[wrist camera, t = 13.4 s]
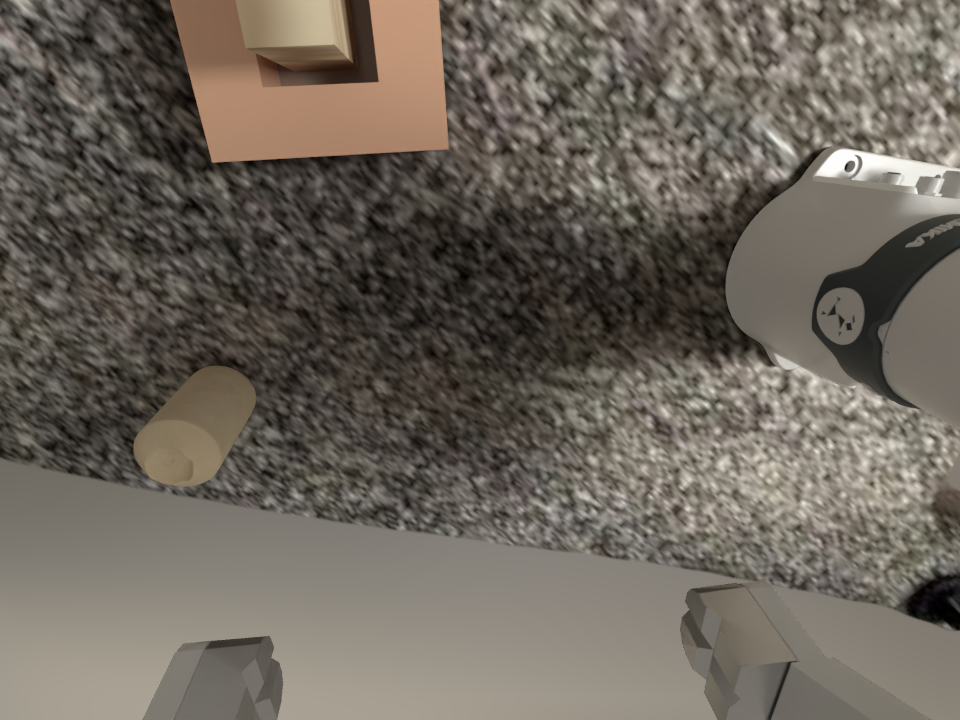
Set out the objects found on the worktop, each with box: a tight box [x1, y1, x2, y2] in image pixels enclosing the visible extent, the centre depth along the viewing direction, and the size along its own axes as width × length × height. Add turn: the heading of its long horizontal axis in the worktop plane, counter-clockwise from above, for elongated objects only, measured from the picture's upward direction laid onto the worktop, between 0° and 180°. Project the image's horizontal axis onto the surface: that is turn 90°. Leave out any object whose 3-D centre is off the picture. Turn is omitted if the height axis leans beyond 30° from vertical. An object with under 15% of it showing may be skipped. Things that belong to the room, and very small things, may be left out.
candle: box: [133, 366, 256, 487], centre depth 37 cm, size 6×6×10 cm
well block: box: [170, 0, 449, 163], centre depth 29 cm, size 14×14×6 cm
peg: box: [235, 0, 358, 72], centre depth 26 cm, size 4×4×10 cm
